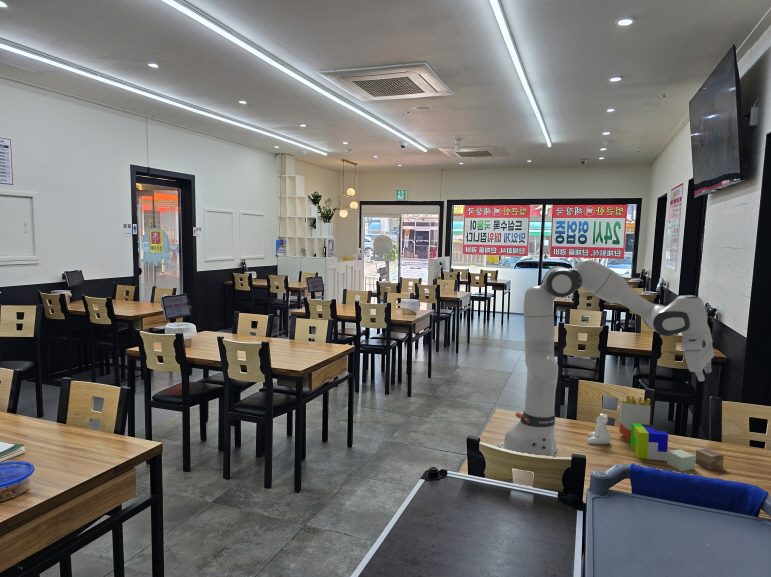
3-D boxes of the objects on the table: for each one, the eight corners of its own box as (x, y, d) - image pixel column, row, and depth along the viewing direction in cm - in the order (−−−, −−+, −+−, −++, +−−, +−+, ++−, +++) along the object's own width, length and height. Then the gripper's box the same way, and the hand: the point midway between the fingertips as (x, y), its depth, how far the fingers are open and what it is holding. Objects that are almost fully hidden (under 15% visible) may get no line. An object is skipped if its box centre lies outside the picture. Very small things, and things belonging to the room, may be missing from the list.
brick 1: (681, 471, 179) (682, 457, 178) (667, 464, 185) (668, 451, 184) (694, 469, 181) (695, 455, 180) (680, 462, 186) (680, 449, 186)
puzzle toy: (666, 460, 187) (668, 434, 186) (637, 458, 189) (639, 432, 188) (657, 450, 197) (659, 425, 196) (630, 447, 199) (631, 423, 198)
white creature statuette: (589, 436, 211) (590, 408, 210) (611, 439, 207) (613, 411, 206) (586, 443, 202) (588, 414, 201) (610, 448, 198) (611, 418, 197)
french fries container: (618, 433, 214) (620, 392, 212) (647, 437, 210) (649, 395, 208) (619, 437, 209) (621, 395, 208) (648, 441, 205) (651, 398, 204)
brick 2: (710, 470, 180) (711, 456, 180) (695, 463, 186) (696, 449, 185) (722, 468, 182) (723, 454, 181) (707, 461, 187) (708, 448, 187)
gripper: (695, 332, 189) (702, 367, 190) (679, 347, 175) (687, 385, 175) (714, 331, 185) (722, 367, 185) (699, 346, 170) (708, 385, 171)
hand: (705, 376), depth 180 cm, fingers open, 8 cm apart
